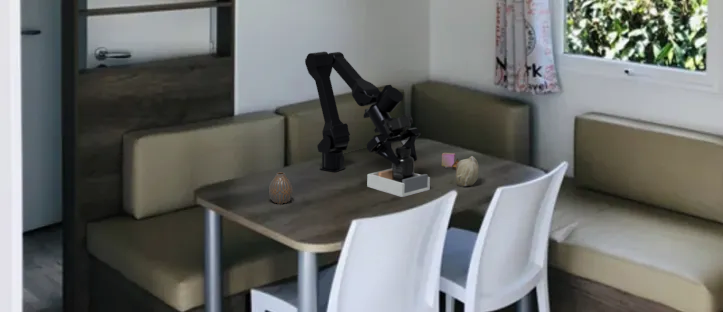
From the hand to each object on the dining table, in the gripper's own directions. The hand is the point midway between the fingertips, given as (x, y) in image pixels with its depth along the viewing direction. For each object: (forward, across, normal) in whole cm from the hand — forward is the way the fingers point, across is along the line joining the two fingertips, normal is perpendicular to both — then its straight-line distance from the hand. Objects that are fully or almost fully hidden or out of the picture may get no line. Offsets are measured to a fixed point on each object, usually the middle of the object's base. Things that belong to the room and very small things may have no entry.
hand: (407, 162), depth 295 cm
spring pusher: (-1, 0, +11) cm, 11 cm away
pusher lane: (+4, 0, +9) cm, 10 cm away
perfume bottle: (0, +34, +14) cm, 37 cm away
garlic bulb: (+12, +18, +1) cm, 22 cm away
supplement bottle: (+5, 0, +7) cm, 8 cm away
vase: (-5, -36, +18) cm, 41 cm away
